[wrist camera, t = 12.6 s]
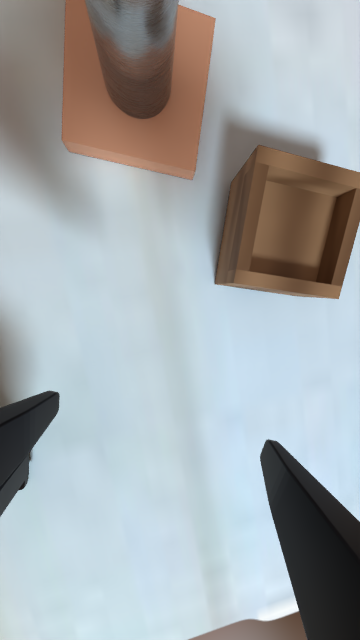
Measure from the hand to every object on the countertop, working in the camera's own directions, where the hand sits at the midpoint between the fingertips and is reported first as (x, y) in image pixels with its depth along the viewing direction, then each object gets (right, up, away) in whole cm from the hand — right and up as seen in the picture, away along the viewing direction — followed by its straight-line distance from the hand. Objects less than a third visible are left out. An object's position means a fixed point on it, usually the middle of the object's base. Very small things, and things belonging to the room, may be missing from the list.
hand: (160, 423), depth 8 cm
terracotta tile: (-2, +22, +7) cm, 23 cm away
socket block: (+9, +12, +10) cm, 18 cm away
